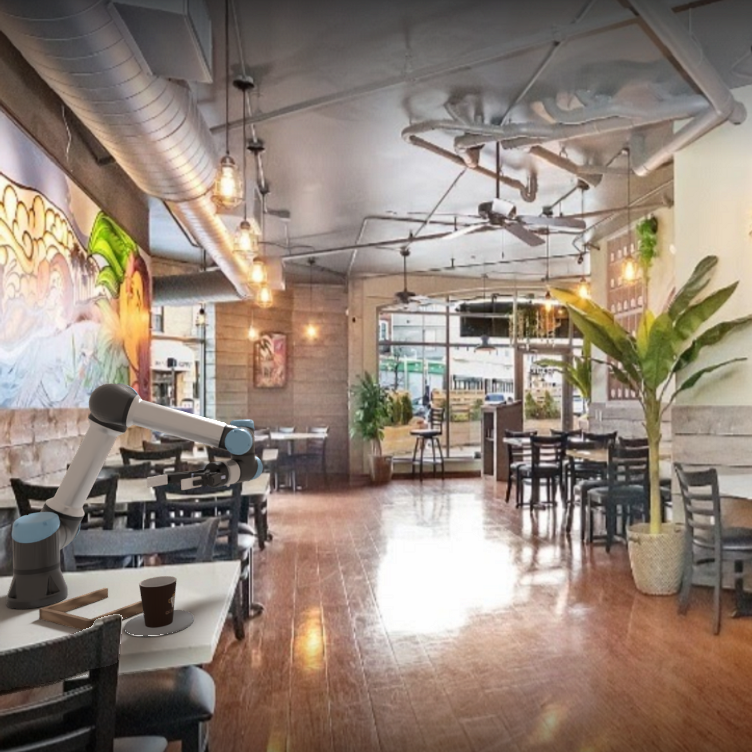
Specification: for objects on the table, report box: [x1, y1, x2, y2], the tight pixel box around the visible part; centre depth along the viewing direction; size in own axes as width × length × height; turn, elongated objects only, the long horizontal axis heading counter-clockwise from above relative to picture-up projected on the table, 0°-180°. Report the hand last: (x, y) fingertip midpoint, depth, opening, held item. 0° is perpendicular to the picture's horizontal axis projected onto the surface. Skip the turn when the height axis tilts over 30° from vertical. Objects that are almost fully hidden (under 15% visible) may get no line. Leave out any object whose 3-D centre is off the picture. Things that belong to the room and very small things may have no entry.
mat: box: [123, 609, 195, 636], centre depth 156 cm, size 16×16×1 cm
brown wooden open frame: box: [38, 587, 143, 631], centre depth 166 cm, size 19×20×2 cm
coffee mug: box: [138, 575, 177, 628], centre depth 156 cm, size 12×9×10 cm
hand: (164, 483), depth 174 cm, fingers open, 13 cm apart
